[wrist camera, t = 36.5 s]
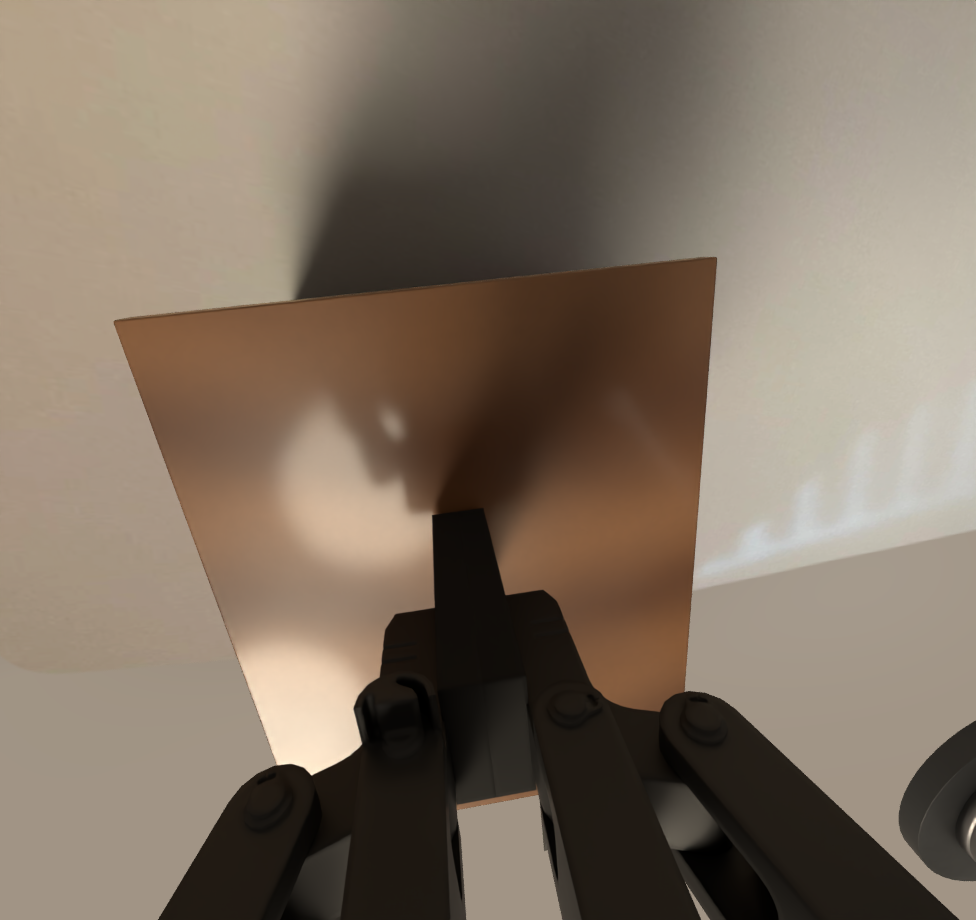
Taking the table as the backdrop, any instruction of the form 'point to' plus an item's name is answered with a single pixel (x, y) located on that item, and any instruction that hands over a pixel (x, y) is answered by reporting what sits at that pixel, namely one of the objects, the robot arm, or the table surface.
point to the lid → (437, 470)
